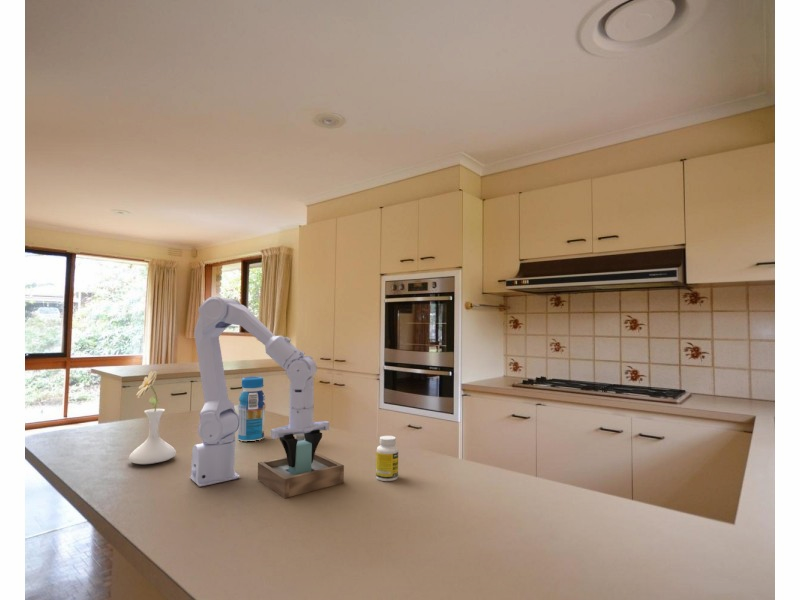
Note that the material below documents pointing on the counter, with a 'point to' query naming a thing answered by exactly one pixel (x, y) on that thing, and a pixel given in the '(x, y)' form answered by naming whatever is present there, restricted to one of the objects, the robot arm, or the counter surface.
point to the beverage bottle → (251, 409)
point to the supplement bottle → (387, 459)
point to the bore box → (300, 476)
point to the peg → (302, 458)
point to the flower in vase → (152, 431)
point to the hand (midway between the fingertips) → (300, 464)
